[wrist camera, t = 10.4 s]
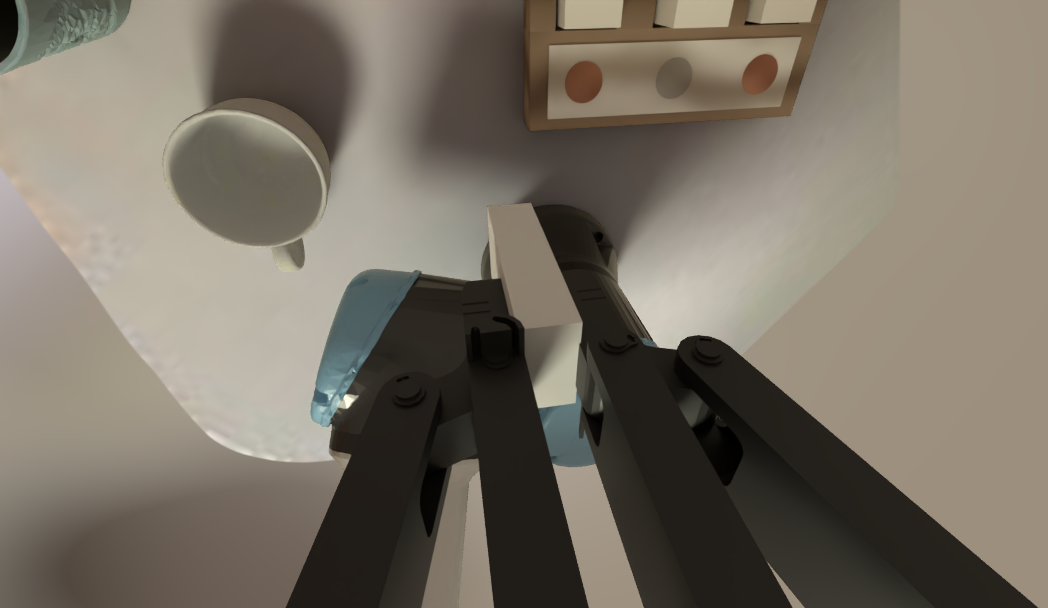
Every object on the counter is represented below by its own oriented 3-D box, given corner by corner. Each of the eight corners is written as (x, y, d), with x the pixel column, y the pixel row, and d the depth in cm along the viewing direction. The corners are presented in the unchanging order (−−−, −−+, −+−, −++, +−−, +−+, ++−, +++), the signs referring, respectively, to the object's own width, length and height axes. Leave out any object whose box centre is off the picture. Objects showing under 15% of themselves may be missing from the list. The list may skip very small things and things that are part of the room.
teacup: (187, 79, 36) (137, 104, 30) (333, 92, 39) (315, 117, 32) (231, 236, 44) (198, 282, 38) (350, 239, 47) (337, 283, 40)
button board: (771, 108, 46) (792, 116, 43) (524, 121, 43) (530, 132, 40) (835, -107, 36) (866, -112, 34) (522, -110, 33) (531, -116, 30)
